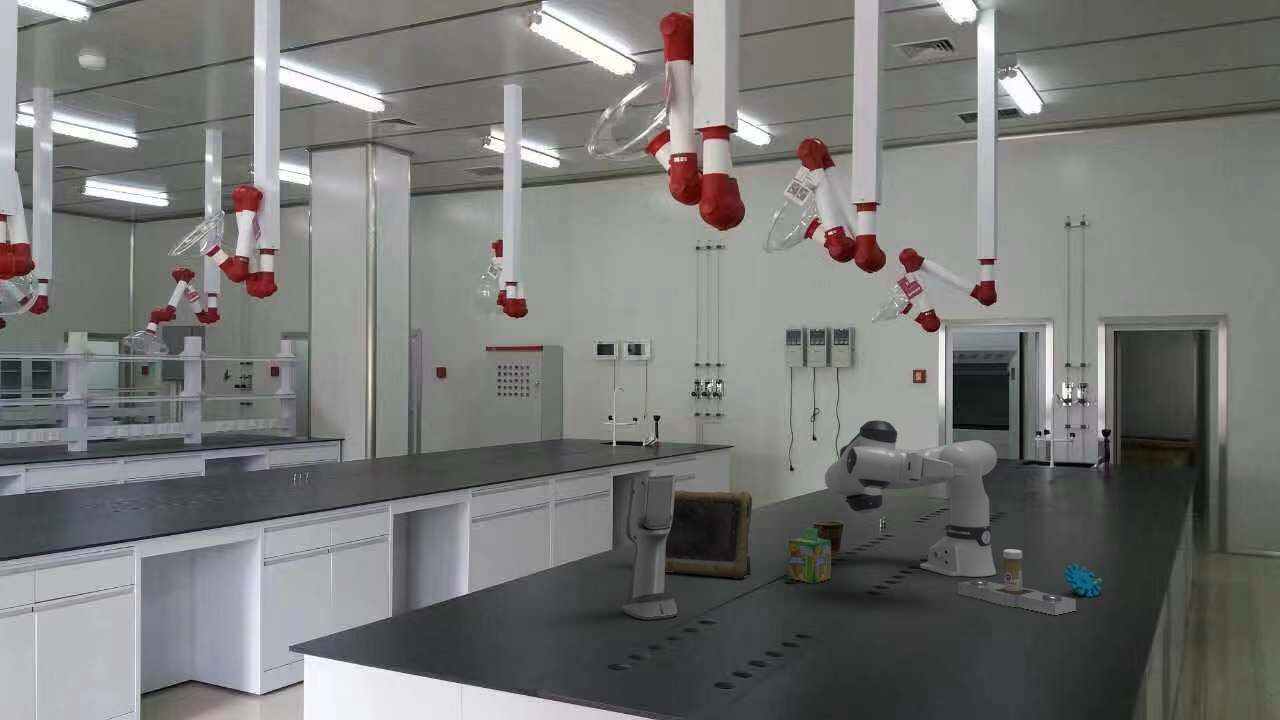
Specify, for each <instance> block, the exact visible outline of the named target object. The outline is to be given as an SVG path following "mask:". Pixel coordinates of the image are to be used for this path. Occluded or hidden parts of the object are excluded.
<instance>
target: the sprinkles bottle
mask: <svg viewBox="0 0 1280 720" xmlns="http://www.w3.org/2000/svg"><path fill="white" fill-rule="evenodd" d="M1002 554H1003V555H1002V556H1003V559H1004V560H1003V561H1004V562H1003V567H1004V568H1003V570H1004V571H1003V574H1004V575H1003V576H1004V579H1003V585H1004V589H1005V593H1009V594H1014V595H1021V594H1022V588H1023V566H1022V565H1023V564H1022V563H1023V562H1022V560H1023V552H1022V550H1019V549H1014V548H1013V549H1012V548H1010V549H1009V548H1006V549H1004V550H1003V553H1002Z"/></svg>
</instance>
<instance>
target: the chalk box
mask: <svg viewBox="0 0 1280 720" xmlns="http://www.w3.org/2000/svg"><path fill="white" fill-rule="evenodd" d="M809 533H813V536H809ZM789 578H790V579H796V580H801V581H800V582H802V581H806V582H805V583H807V582H811V583H810V584H812V583H815V584H817V582H818V583H821V582H820V581H822V582H824V580H825V581H828V580H827V579H829V580H832V554H831V541H830V540H827V539H821V538H818V529H816V528H814V527H804V531H803V535H802V537H800V538H798V537H797V538H793V539H789V540H788V579H789ZM796 580H795V581H796Z"/></svg>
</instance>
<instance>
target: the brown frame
mask: <svg viewBox="0 0 1280 720" xmlns="http://www.w3.org/2000/svg"><path fill="white" fill-rule="evenodd" d="M752 508H753V498H752V495H751V494H750V493H749V491H746V490H743V491H740V492H724V491H717V492H716V491H715V492H704V491H702V492H701V491H687V490H683V489H682V490H675V496H674V511H673V519H672V525H671V529H670V531H669V534H668V536H667V539H666V552H665V571H673V572H683V573H682V574H694V575H695V574H696V575H701V574H704V575H703V576H709V575H714V576H713V577H722V576H723V577H727V578H732V577H737V578H736V579H738V578H739V579H744V578H743V577H744V576H746V577H747V574H748V572H750V573H751V556H750V555H748V553H749V535H750V525H751V518H752V517H751V516H752V511H753V510H752Z"/></svg>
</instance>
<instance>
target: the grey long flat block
mask: <svg viewBox="0 0 1280 720" xmlns="http://www.w3.org/2000/svg"><path fill="white" fill-rule="evenodd" d="M957 595H959V596H964V597H969V598H972V597H973V598H974V599H977V600H981V599H982V601H987V602H989V603H990V602H991V603H990V604H995V603H996V605H999V604H1001V605H1000V606H1004V605H1005V606H1004V607H1008V606H1010V607H1009V608H1013V607H1016V608H1017V607H1019V608H1018V609H1022V608H1024V609H1023V610H1026V609H1029V610H1028V611H1031V610H1034V611H1033V612H1035V611H1039V612H1038V613H1040V612H1043V613H1042V614H1044V613H1047V614H1046V615H1048V614H1052V615H1051V616H1053V615H1058V616H1060V615H1059V614H1063V613H1067V612H1072V611H1077V608H1076V607H1077V604H1076V603H1077V602H1076V601H1077V600H1076V598H1072V597H1071V598H1070V597H1066V596H1061V595H1058V594H1053V593H1052V594H1051V593H1047V592H1042V591H1039V590H1036V589H1030V588H1025V587H1022V594H1021V595H1014V594H1009V593H1005V589H1004V583H1002V584H1001V583H998V582H992V581H988V580H984V579H971V580H966V581H962V582H957ZM1020 607H1021V608H1020ZM1072 613H1073V612H1072ZM1067 614H1068V613H1067ZM1063 615H1064V614H1063Z"/></svg>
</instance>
